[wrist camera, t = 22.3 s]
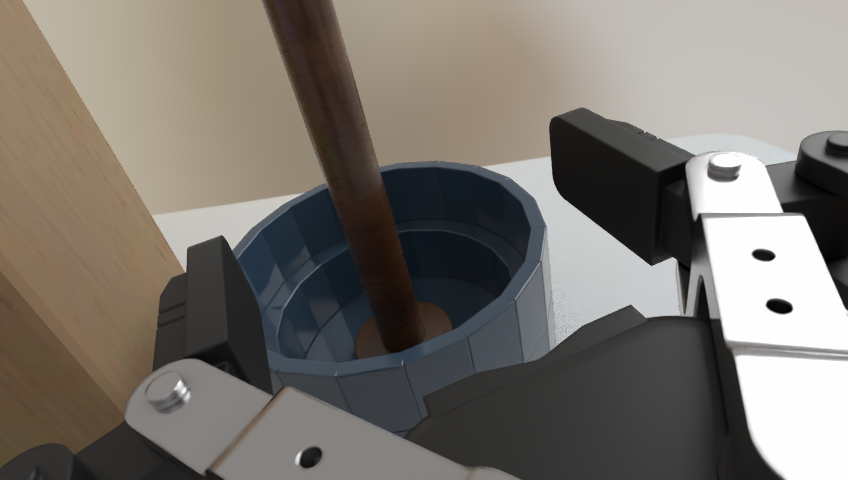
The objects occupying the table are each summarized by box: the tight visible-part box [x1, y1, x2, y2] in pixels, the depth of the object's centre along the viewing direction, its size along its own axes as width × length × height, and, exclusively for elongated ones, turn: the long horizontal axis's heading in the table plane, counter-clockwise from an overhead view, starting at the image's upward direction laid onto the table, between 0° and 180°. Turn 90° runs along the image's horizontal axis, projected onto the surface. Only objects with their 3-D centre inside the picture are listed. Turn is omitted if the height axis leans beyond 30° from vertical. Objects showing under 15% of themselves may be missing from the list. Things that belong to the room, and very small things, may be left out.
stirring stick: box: [262, 0, 454, 360], centre depth 19 cm, size 5×5×18 cm
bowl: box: [232, 161, 556, 438], centre depth 23 cm, size 13×13×7 cm
